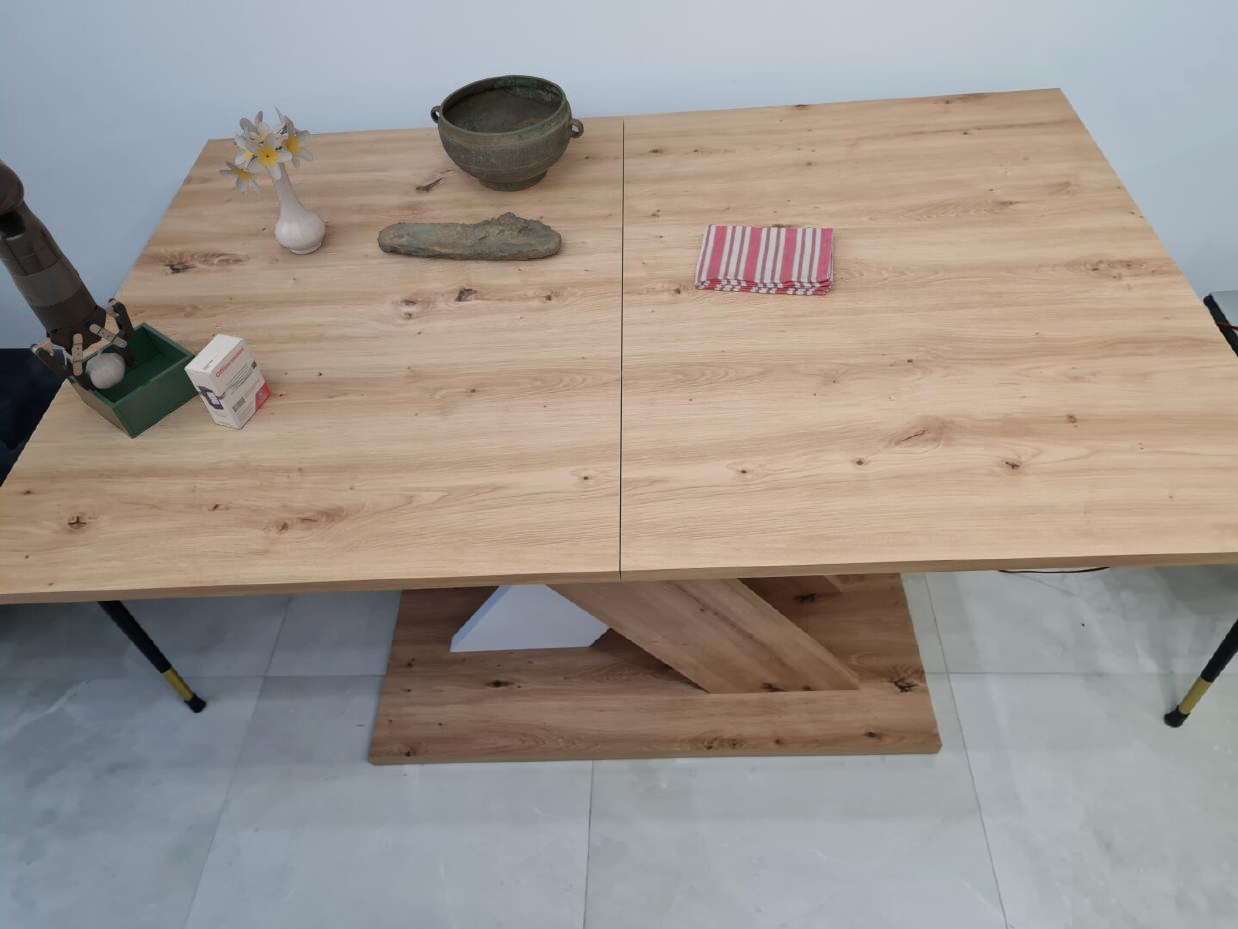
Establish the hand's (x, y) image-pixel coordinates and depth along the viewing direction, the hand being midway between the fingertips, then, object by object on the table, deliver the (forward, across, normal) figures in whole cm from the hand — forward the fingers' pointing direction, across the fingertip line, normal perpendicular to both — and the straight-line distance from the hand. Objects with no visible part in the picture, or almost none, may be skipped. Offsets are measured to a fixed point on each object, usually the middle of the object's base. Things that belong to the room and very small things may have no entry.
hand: (110, 376), depth 138 cm
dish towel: (+7, -87, +63) cm, 107 cm away
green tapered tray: (+7, -4, -2) cm, 8 cm away
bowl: (+7, -86, +4) cm, 86 cm away
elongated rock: (+7, -62, +15) cm, 64 cm away
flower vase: (+7, -45, -12) cm, 47 cm away
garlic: (+1, 0, 0) cm, 1 cm away
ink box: (+7, -11, +15) cm, 20 cm away
